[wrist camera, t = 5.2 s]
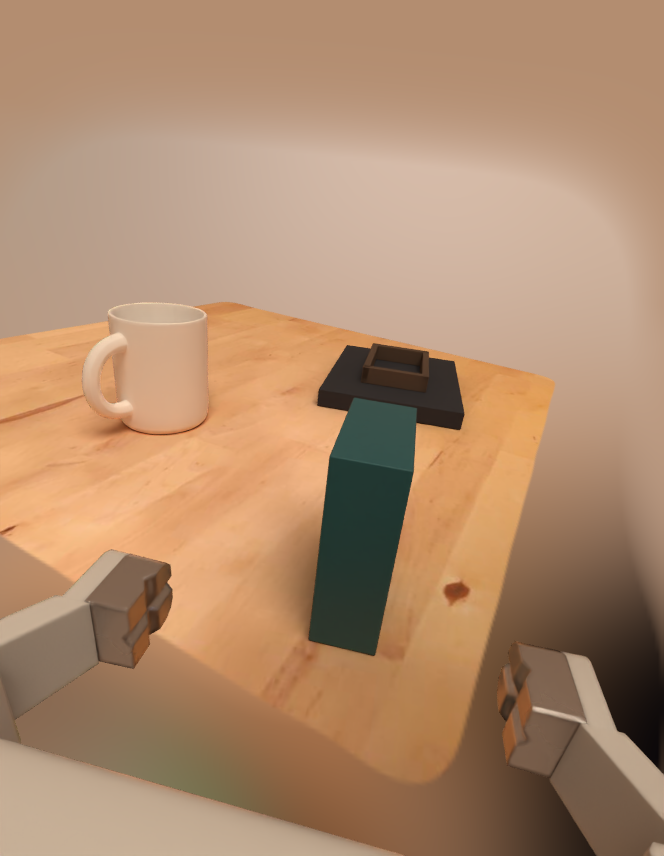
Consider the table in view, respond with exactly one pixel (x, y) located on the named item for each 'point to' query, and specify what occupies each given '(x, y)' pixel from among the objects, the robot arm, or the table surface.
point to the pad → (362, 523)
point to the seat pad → (396, 383)
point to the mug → (152, 367)
